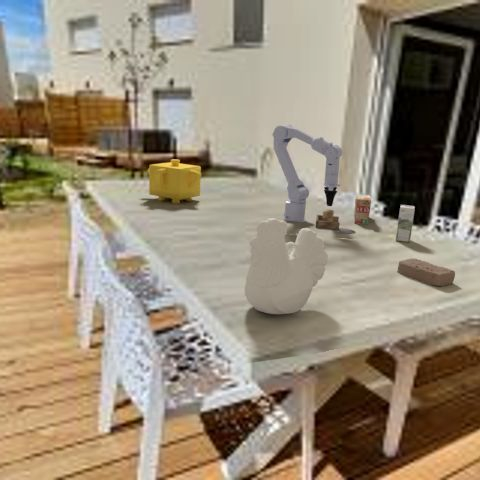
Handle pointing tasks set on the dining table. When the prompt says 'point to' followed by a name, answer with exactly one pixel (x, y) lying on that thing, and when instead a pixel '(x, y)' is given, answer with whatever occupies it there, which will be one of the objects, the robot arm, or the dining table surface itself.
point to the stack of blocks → (362, 209)
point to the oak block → (328, 215)
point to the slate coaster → (343, 231)
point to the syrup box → (405, 223)
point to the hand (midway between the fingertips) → (329, 204)
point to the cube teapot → (174, 181)
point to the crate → (327, 222)
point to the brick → (426, 272)
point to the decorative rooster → (283, 268)
